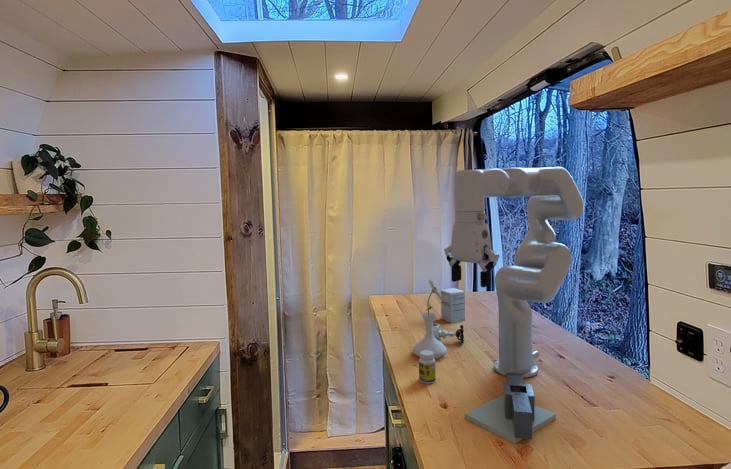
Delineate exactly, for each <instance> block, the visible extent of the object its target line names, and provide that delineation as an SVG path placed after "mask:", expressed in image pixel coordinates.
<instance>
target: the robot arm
mask: <svg viewBox="0 0 731 469" xmlns="http://www.w3.org/2000/svg"><path fill="white" fill-rule="evenodd" d="M453 175H454V176H453V188H454V189H453V191H454V192H453V193H454V195H453V196H454V198H453V199H454V203H453V204H454V223H453V224H452V231H451V240H450V241H451V243H450V245H448V246H447V247H446V248H444V249H443V251H444V255H445V257H446V258H445V259H446V260H447V262H448V265H449V267H451V270H450V271H451V273H450V274H451V282H459V281H462V265H460V264H461V263H462V262H463V263H471V264H478V265H479V267H480V270H481V271H480V279H479V280H480V287H481V288H486V287H490V286H491V284H492V283H491V282H492V276H491V275H492V274H491V272H492V271H493V270H494V268H495V267H496V266H497V263H498V261H499V258H500V254H499V253H498V252H496V251H495V250H493V249H492V242H491V233H490V229H489V225H488V223H486V220H487V219H488V214H485V213H486V212H485V209H486V208H485V198H523V197H524V198H525V197H530V198H529V199H528V201H527V204H526V216H527V221H528V231H527V233H526V235H525V236H524V238H523V240H522V241H521V243H520V244H519V246H518V248H517V250H516V251H515V254H514V257H513V261H514V262H513V263H514V265H504V266H502V267H500V268H499V269H498V270H497V271H496V273H495V275H494V287H495V292H496V297H497V303H498V305H497V306H498V360H495V361H494V363H493V369H494V371H496V372H497V373H498V374H500V375H502V376H505V377H506V372H508V373H522V375H523V379H525V378H527V379H528V378H531V377H532V378H533V377H534V376H535V375H537V374H539V373H538V372H539V367H538V365H536V363H534V361H535V359H536V358H539V357H540V356H541V354H540V352H539V351H538V350H534V351H533V311H532V308H531V306H530V304H529V302H534V303H540V304H541V303H542V304H547V303H550V302H551V301H553V300H554V299H555V298H556V296H557V294H558V292H559V290H560V289H561V286H562V285H563V282H564V281H565V279H566V277H567V275H568V273H569V270H570V267H571V263H572V254H571V251H570V249H569V247H568V246H566V245H565V244H563V243H561V242H560V243H559V242H556V240H557V236H556V233H555V231H554V229H553V227H552V226H551V225H550V224H549V221H551V220H552V221H574V220H578V219H579V218H580V217H582V215H583V213H584V210H585V202H584V199H583V197H582V194H581V191H579V188H578V186H577V184H576V181H575V179H574V178H573V176H572V175H571V173H570V172H569V171H568V170H567V169H566V168H565V167H562V166H552V167H551V166H549V167H507V168H481V169H479V168H478V169H462V170H461V169H460V170H457V171H456V172H455V173H454V174H453ZM548 220H549V221H548Z"/></svg>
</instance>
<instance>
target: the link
mask: <svg viewBox="0 0 731 469" xmlns="http://www.w3.org/2000/svg"><path fill="white" fill-rule="evenodd" d="M503 395H504V411H505V419H512V423H513V429H514V435H515V438H523V439H522V440H524V439H525V440H533V433H532V421H534V408H535V406H536V405H535V394H534V390H533V386H532V383H525V384H522V383H506V381H505V382H503Z"/></svg>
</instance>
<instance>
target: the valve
mask: <svg viewBox="0 0 731 469" xmlns="http://www.w3.org/2000/svg"><path fill="white" fill-rule="evenodd" d="M464 330H465V329H464V325H463V324H461V325H459V328H458V329H457V330H456V331H455V332H453V331H449V332H448V331H447V330H446V329H442V330H441V324H439V323H434V322H433V336H434V337H435V338H436V339H437V340H438V341H440V342H441V343H442V341H441V338H442V339H446V338H447V337H448V336H449V337H454V336H455V337H456V339H457V340H458V341H460V344H464V343H465V340H464V338H465V336H464V332H465V331H464Z"/></svg>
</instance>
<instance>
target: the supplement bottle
mask: <svg viewBox="0 0 731 469" xmlns="http://www.w3.org/2000/svg"><path fill="white" fill-rule="evenodd" d="M436 369H437V368H436V358H434V352H432V351H429V350H424V351H421V352H420V357H419V359H418V376H419V377H418V381H419V382H420V383H422V384H428V385H430V384H434V383H436V380H437V379H436V378H437V377H436V375H437V374H436V372H437V371H436Z"/></svg>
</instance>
